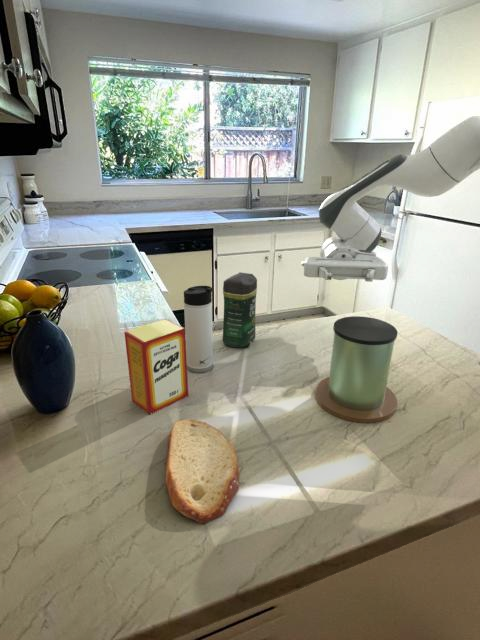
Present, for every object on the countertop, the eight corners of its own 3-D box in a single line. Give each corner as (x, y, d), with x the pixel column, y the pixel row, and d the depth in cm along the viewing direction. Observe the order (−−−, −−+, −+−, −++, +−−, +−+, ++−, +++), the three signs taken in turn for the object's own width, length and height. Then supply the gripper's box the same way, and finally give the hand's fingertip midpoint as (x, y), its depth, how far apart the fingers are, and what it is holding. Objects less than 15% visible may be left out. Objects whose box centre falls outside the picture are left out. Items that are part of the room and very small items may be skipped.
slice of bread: (185, 421, 77) (184, 404, 75) (269, 454, 68) (270, 436, 67) (114, 482, 62) (111, 463, 61) (209, 534, 54) (209, 514, 53)
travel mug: (208, 375, 92) (206, 293, 85) (182, 370, 94) (178, 289, 87) (218, 362, 98) (217, 284, 90) (193, 358, 100) (190, 281, 92)
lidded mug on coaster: (383, 376, 90) (394, 311, 84) (406, 425, 74) (422, 349, 68) (311, 373, 91) (317, 308, 85) (318, 420, 75) (326, 344, 69)
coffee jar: (246, 351, 104) (247, 282, 97) (218, 345, 107) (218, 278, 99) (259, 336, 112) (261, 272, 105) (233, 331, 115) (233, 268, 108)
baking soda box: (169, 383, 89) (165, 317, 83) (188, 395, 85) (184, 326, 78) (132, 401, 83) (124, 330, 77) (149, 414, 78) (142, 340, 72)
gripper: (301, 249, 106) (305, 262, 93) (381, 252, 104) (395, 266, 92) (300, 272, 108) (303, 288, 96) (377, 275, 107) (391, 292, 94)
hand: (349, 277), depth 94 cm, fingers open, 8 cm apart
